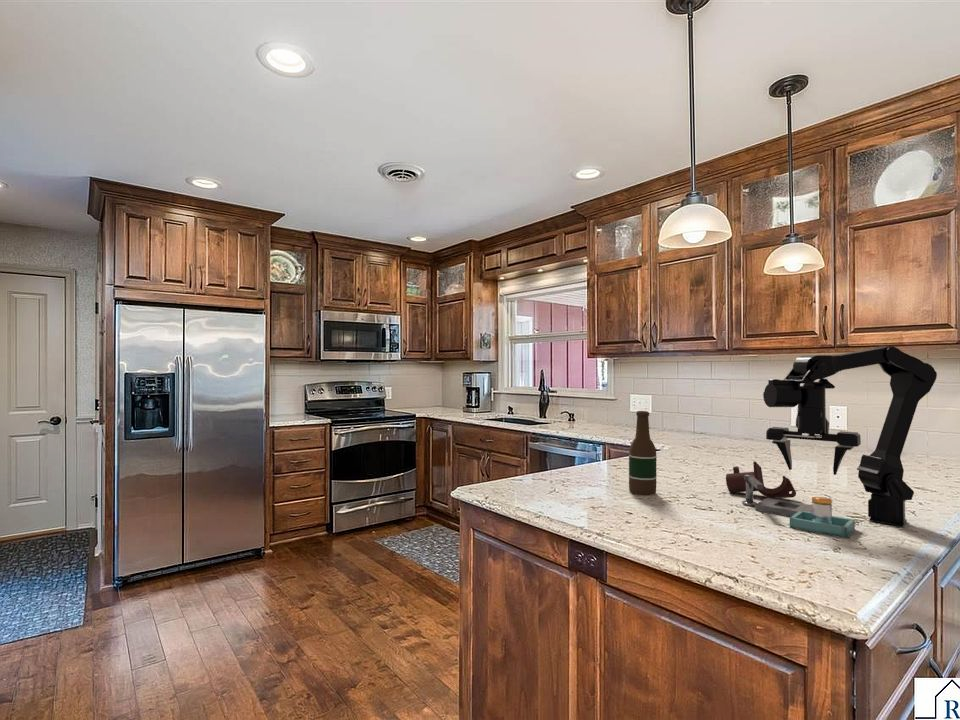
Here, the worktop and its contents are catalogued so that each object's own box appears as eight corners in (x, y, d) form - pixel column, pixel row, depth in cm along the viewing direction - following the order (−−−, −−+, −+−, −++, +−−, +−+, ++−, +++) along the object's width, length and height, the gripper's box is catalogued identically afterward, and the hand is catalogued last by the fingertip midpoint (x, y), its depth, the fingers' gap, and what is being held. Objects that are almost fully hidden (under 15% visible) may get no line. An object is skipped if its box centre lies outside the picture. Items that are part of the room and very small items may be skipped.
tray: (854, 529, 121) (854, 519, 121) (846, 538, 114) (846, 528, 114) (799, 519, 128) (799, 510, 128) (789, 527, 122) (789, 517, 122)
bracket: (794, 494, 143) (787, 458, 148) (727, 497, 153) (723, 464, 157) (798, 498, 148) (792, 463, 152) (733, 502, 157) (729, 469, 162)
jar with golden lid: (833, 525, 121) (833, 498, 121) (829, 529, 119) (829, 501, 119) (814, 522, 124) (814, 496, 124) (810, 525, 121) (810, 498, 121)
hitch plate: (818, 511, 135) (818, 486, 136) (808, 519, 128) (808, 493, 128) (748, 500, 147) (748, 477, 147) (735, 506, 140) (735, 482, 140)
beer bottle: (623, 490, 158) (623, 410, 158) (643, 488, 161) (643, 409, 161) (641, 496, 150) (641, 412, 151) (662, 494, 154) (662, 411, 154)
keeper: (743, 478, 144) (743, 474, 144) (753, 479, 143) (753, 475, 143) (754, 489, 132) (754, 484, 132) (765, 489, 131) (765, 484, 131)
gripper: (863, 407, 127) (864, 472, 127) (776, 404, 139) (777, 463, 139) (856, 410, 119) (857, 479, 118) (765, 406, 131) (765, 469, 131)
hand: (812, 472), depth 127 cm, fingers open, 9 cm apart
